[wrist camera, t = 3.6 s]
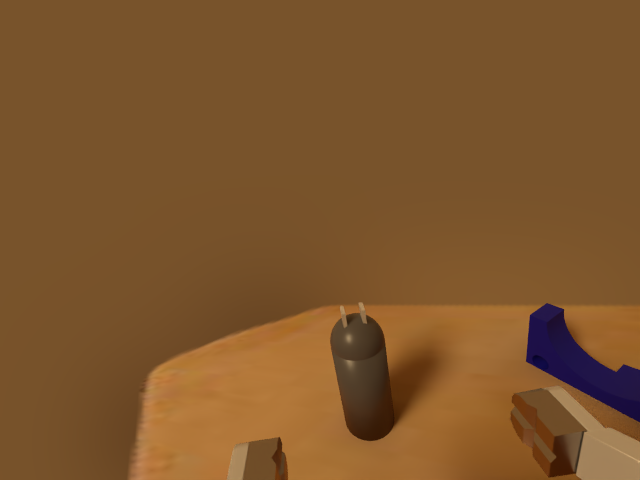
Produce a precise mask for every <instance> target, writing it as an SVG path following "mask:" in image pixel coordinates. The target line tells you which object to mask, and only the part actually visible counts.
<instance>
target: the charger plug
mask: <svg viewBox="0 0 640 480" xmlns="http://www.w3.org/2000/svg"><path fill="white" fill-rule="evenodd" d="M359 309H360V313H353V314H349V315H346V314H345V310H344V307H343V306H340V311H341V317H342V318H341V319H340V320H339V321H338V322H337V323H336V324H335V326H334V328H333V330H332V333H331V338H330V343H331V349H332V355H333V360H334V365H335V370H336V375H337V380H338V385H339V390H340V395H341V400H342V405H343V410H344V415H345V421H346V425H347V427H348V429H349V431H350V432H351V433H352V434H353V435H354V436H356V437H357V438H359V439H362V440H366V441H374V440H378V439H381V438H383V437H385V436H386V435H387V434H388V433H389V432H390V431H391V429H392V427H393V424H394V413H393V405H392V397H391V388H390V380H389V372H388V363H387V355H386V347H385V338H384V334H383V331H382V329H381V327H380V326H379V324H378V323H377V322H376V321H375V320H374V319H372V318H371V317H369V316H367V315H366V313H365V309H364V306H363V303H362V302H361V303H359Z"/></svg>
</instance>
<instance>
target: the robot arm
mask: <svg viewBox="0 0 640 480" xmlns="http://www.w3.org/2000/svg"><path fill="white" fill-rule="evenodd" d="M512 403H513V404H514V405H515V407H514V408H513V410H512V411H511V421H512V424H513V428H514V430H515V431H516V433H517V435H518V437H519V438H520V439H521V441H522V442H523V443H524V444H526V445H528V446H529V447H531V448H532V452H533V457H534V459H535V460H536V461H537V463H538V464H539V465H540V467H541V468H542V469H543V471H544V472H545V473H546V475H547V476H548V477H556V476H563V475H569V474H576V476H578V477H579V478H581V479H582V480H640V442H639V441H637V440H635V439H633V438H631V437H629V436H627V435H625V434H623V433H620V432H618V431H616V430H614V429H612V428H610V427H609V428H605V427H604V426H603V425H601V424H600V423H599V422H598V421H597V420H596V419H595V418H594V417H593V416H592V415H591V414H590V413H589V412H588V411H587V410H586V409H585V408H583V407H582V406H581V405H580V404H579V403H578V402H577V401H576V400H575V399H574V398H573V397H572V396H571V395H570V394H569V393H568V392H567V391H565V390H564V389H563V388H562V387H560V386H552V387H547V388H543V389H542V388H540V389H535V390H530V391H525V392H520V393H515V394H514V395H513V396H512ZM227 480H288V469H287V461H286V456H285V453H284V452H282V442H281V439H280V437H278V438H272V439H265V440H259V441H252V442H246V443H240V444H236V445H235V447H234V449H233V452H232V457H231V462H230V467H229V472H228V477H227Z"/></svg>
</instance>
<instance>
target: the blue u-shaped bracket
mask: <svg viewBox="0 0 640 480" xmlns="http://www.w3.org/2000/svg"><path fill="white" fill-rule="evenodd" d="M526 362H528V363H530V364H532V365H534V366H535V367H537V368H539V369H541V370H543V371H545V372H547V373H549V374H550V375H552V376H554V377H556V378H558V379H560V380H562V381H563V382H565V383H567V384H569V385H571V386H573V387H575V388H577V389H578V390H580V391H582V392H584V393H586V394H588V395H590V396H591V397H593V398H595V399H597V400H599V401H601V402H603V403H605V404H606V405H608V406H610V407H612V408H614V409H616V410H618V411H619V412H621V413H623V414H625V415H627V416H629V417H631V418H633V419H634V420H636V421H638V422H640V370H638V369H635V368H632V367H629V366H627V365H623V366H622V367H621V368H620V369H619V370H618V371H617V372H615V371H613V370H611V369H609V368H607V367H605V366H604V365H602V364H600V363H599V362H597V361H596V360H595V359H593V358H592V357H591V356H589V355H588V354H587V353H586V352H585V351H584V350H583V349H582V348H581V347H580V346H579V345H578V344H577V343H576V342H575V340H574V339H573V337H572V336H571V334H570V333H569V331H568V329H567V326H566V323H565V320H564V309H562V308H559V307H556V306H553V305H551V304H548V303H546V304H545V305H544V306H542V307H541V308H539V309H538V310H537V311H535V312H534V313H532V314H531V315H530V321H529V333H528V345H527V357H526Z"/></svg>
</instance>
